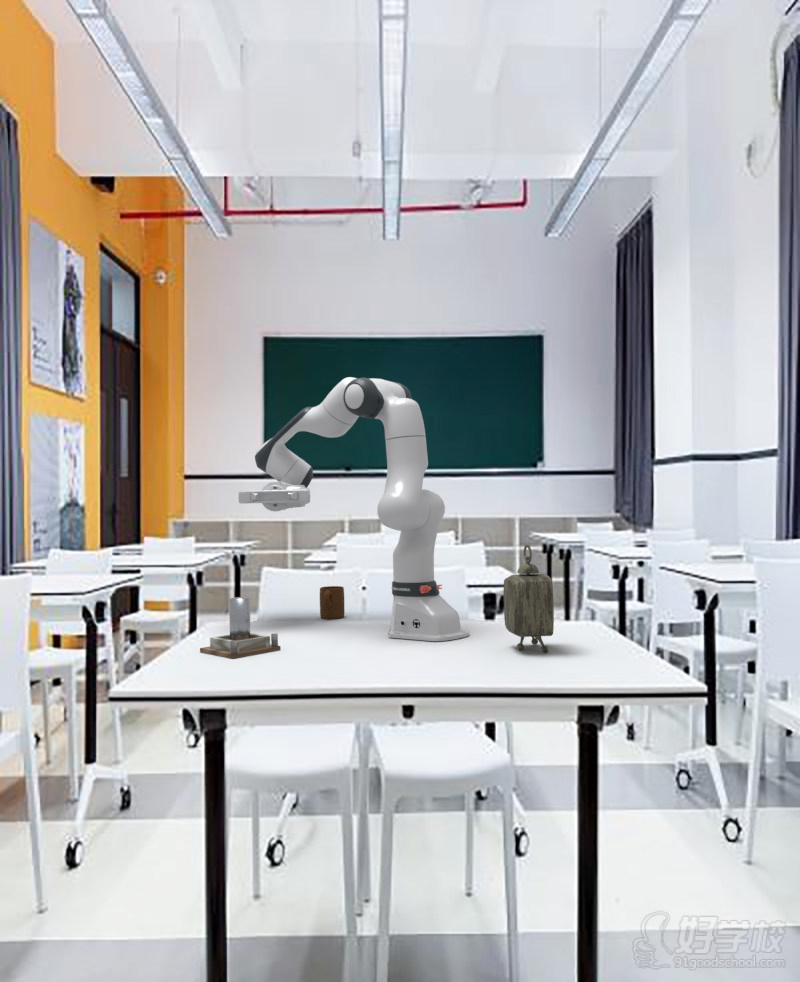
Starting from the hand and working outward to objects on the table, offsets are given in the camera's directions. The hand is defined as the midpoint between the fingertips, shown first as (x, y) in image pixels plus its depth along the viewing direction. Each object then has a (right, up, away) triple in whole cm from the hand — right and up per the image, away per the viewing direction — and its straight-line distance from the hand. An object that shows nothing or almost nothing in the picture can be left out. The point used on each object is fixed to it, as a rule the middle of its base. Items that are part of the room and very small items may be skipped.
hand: (273, 496), depth 237 cm
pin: (-4, -37, -26) cm, 45 cm away
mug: (+14, -38, +26) cm, 48 cm away
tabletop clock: (+66, -37, -33) cm, 82 cm away
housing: (-4, -38, -26) cm, 46 cm away
